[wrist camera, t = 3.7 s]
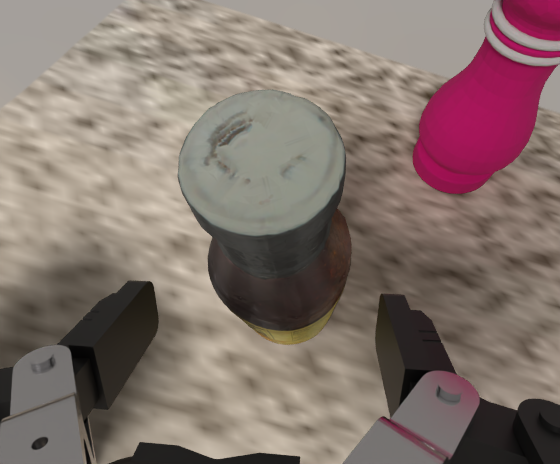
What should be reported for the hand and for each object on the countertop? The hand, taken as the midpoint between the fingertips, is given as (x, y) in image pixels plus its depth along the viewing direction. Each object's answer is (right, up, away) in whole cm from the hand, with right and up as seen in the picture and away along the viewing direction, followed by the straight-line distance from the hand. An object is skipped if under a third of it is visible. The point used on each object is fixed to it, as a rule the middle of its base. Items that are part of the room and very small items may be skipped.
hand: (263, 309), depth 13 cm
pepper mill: (+15, +8, +18) cm, 25 cm away
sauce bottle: (+1, -3, +14) cm, 15 cm away
